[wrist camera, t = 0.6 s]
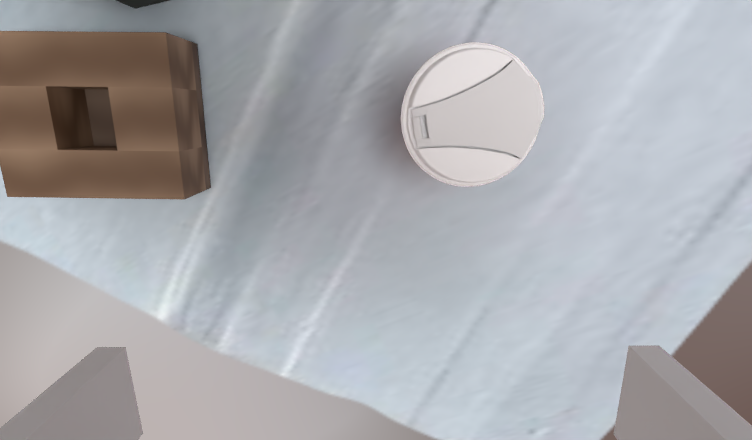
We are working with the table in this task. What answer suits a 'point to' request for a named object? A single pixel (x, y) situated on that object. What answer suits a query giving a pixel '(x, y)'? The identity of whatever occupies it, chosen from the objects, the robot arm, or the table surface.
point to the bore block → (101, 115)
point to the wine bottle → (140, 2)
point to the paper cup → (471, 114)
